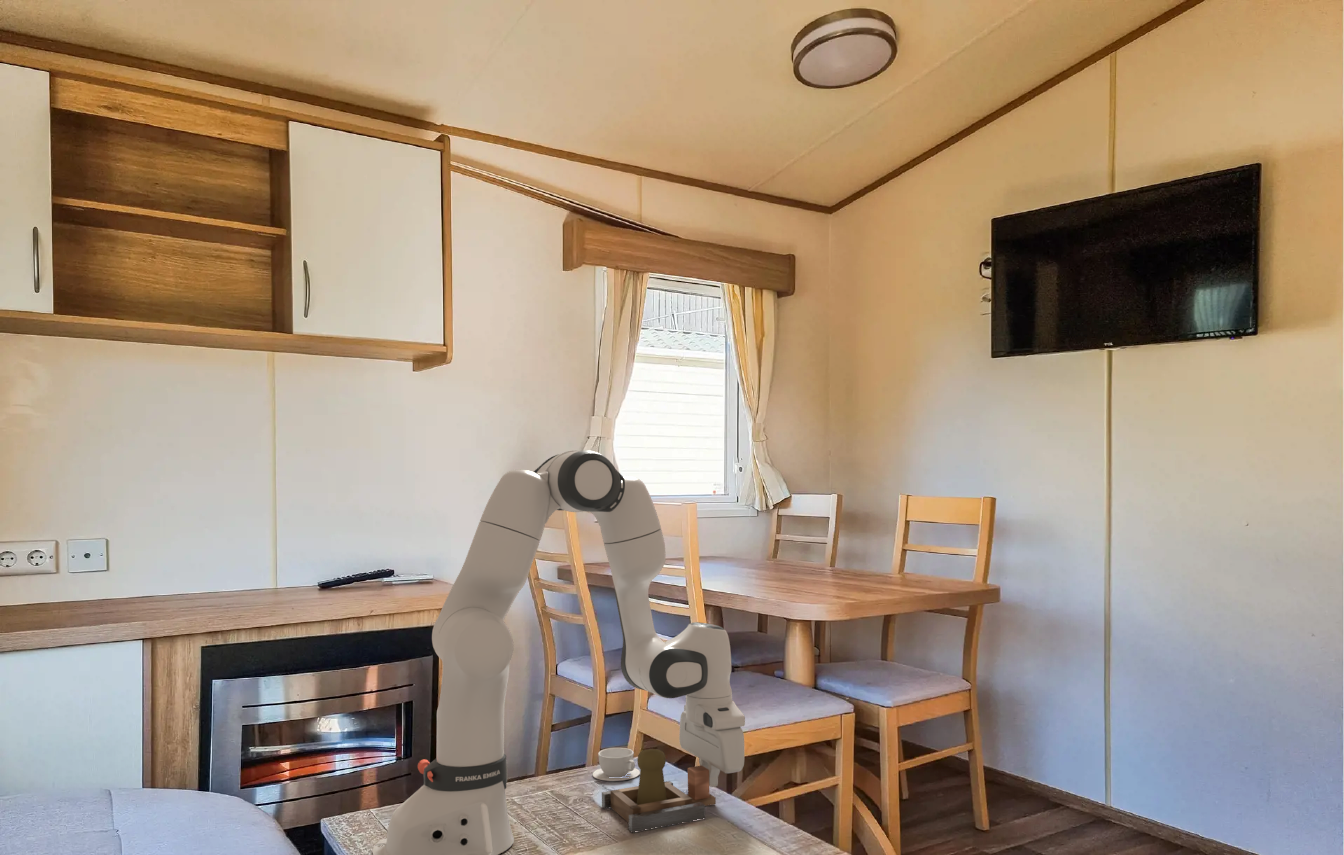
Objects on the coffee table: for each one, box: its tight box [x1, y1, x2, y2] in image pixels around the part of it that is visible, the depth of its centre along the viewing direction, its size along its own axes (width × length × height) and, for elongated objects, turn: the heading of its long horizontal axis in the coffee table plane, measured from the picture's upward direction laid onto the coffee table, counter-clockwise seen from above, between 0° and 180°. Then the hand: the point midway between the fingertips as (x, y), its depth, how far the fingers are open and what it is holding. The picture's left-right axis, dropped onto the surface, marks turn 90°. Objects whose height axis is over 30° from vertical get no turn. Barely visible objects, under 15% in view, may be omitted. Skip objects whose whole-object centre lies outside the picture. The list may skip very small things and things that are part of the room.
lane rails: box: [601, 780, 706, 833], centre depth 157 cm, size 14×15×2 cm
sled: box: [610, 765, 717, 824], centre depth 158 cm, size 18×11×6 cm, turn 115°
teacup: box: [592, 747, 640, 782], centre depth 180 cm, size 10×10×5 cm
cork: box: [636, 748, 667, 805], centre depth 157 cm, size 6×6×11 cm
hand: (710, 784), depth 162 cm, fingers closed
